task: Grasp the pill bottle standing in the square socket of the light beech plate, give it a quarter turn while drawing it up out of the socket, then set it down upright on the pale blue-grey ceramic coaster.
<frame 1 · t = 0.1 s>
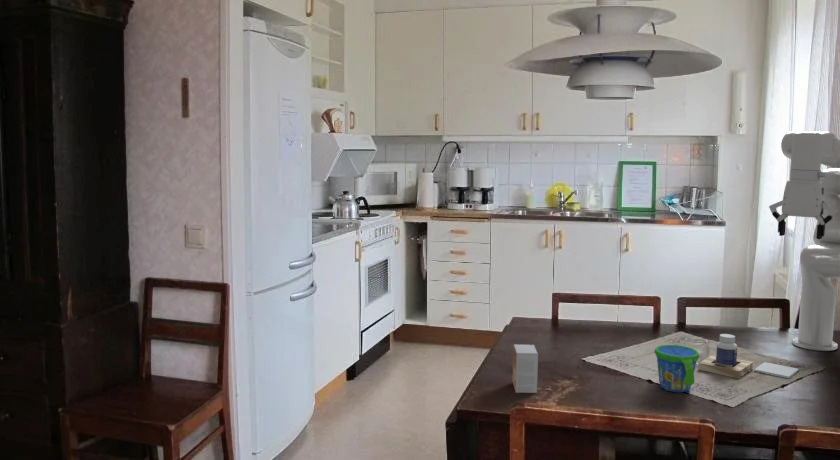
hand: (800, 237, 207), 37 cm above the table, tool pointing down, fingers open, 9 cm apart
coaster: (776, 371, 204), on the table
snack cup: (674, 389, 190), on the table
pill bottle: (725, 370, 206), resting in socket plate
socket plate: (725, 369, 206), on the table
small box: (524, 388, 190), on the table
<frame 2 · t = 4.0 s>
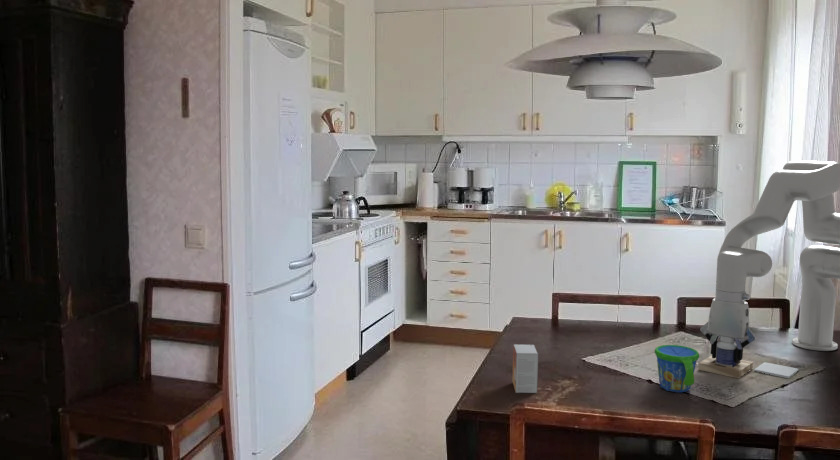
hand: (726, 358, 205), 3 cm above the table, tool pointing down, fingers closed on pill bottle, 5 cm apart
pill bottle: (725, 370, 206), resting in socket plate, touching gripper
everything else where it was.
when the fingers open (5 cm above the table, at t = 10.4 s): pill bottle stays where it is, resting on coaster.
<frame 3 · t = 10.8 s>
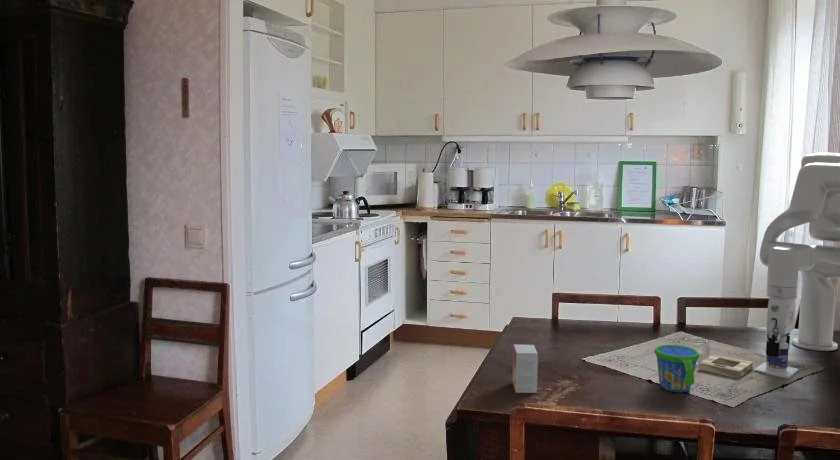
hand: (777, 352, 203), 5 cm above the table, tool pointing down, fingers open, 9 cm apart
pill bottle: (776, 369, 204), resting on coaster
everything else where it was.
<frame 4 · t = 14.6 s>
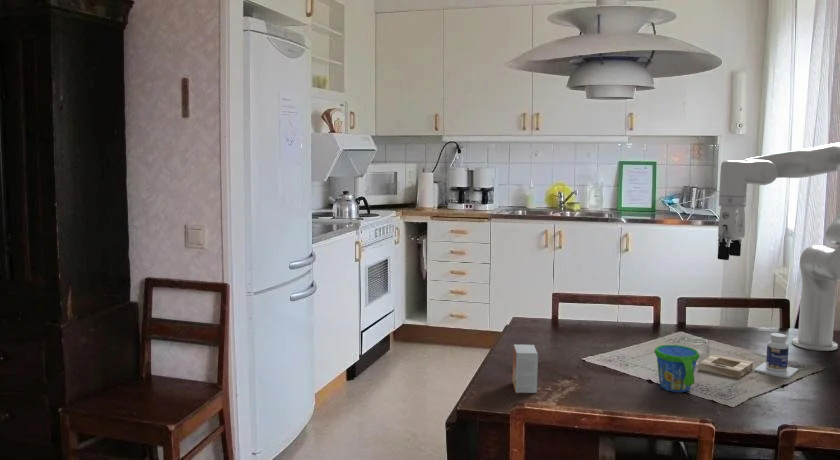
hand: (729, 257, 223), 28 cm above the table, tool pointing down, fingers open, 9 cm apart
nothing on the table moved.
at the end: pill bottle inside the target area on the coaster (0.1 cm from its centre), point 0.4 cm above the coaster's base; pill bottle tilted 0°; pill bottle touching coaster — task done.
